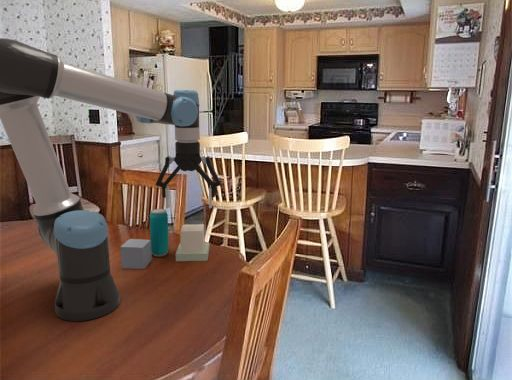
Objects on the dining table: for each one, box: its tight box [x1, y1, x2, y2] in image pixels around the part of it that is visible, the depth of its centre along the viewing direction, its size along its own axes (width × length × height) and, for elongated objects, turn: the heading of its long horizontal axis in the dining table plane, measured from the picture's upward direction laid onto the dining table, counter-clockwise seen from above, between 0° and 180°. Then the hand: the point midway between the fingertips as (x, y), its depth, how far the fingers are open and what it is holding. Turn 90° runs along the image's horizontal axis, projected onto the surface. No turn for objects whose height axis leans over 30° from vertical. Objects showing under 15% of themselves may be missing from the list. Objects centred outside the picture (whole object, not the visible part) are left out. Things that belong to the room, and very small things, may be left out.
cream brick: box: [180, 223, 206, 252], centre depth 138 cm, size 7×7×7 cm
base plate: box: [175, 242, 210, 262], centre depth 139 cm, size 10×10×2 cm
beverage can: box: [149, 208, 170, 257], centre depth 138 cm, size 6×6×15 cm
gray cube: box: [119, 238, 153, 270], centre depth 131 cm, size 7×7×7 cm
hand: (189, 207), depth 135 cm, fingers open, 13 cm apart
